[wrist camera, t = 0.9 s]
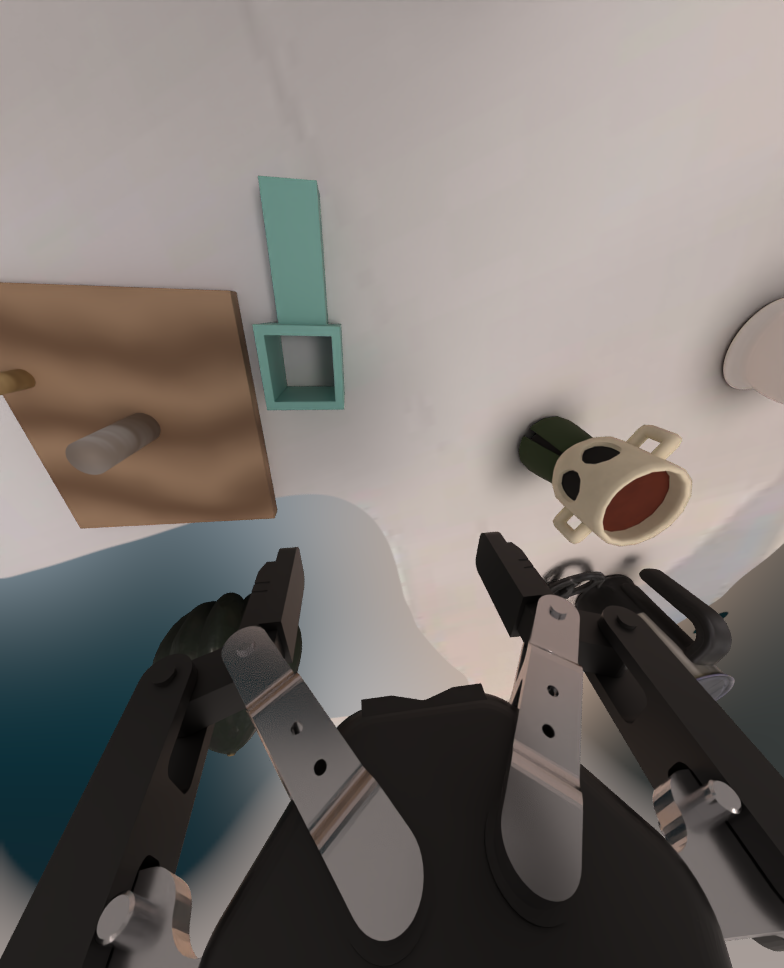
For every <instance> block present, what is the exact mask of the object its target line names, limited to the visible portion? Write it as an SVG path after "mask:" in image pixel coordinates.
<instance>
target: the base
mask: <svg viewBox="0 0 784 968" xmlns="http://www.w3.org/2000/svg"><path fill="white" fill-rule="evenodd" d="M0 395H3V396H4V398H5V400H6V401H7V403H8V405H9V407H10V408H11V410H12V412H13V413H14V415H15V417H16V419H17V420H18V422H19V424H20V425H21V427H22V429H23V431H24V432H25V434H26V436H27V437H28V439H29V441H30V443H31V444H32V446H33V448H34V449H35V451H36V453H37V455H38V456H39V458H40V460H41V461H42V463H43V465H44V467H45V468H46V470H47V472H48V473H49V475H50V477H51V479H52V480H53V482H54V484H55V485H56V487H57V489H58V491H59V492H60V494H61V496H62V497H63V499H64V501H65V503H66V504H67V506H68V508H69V509H70V511H71V513H72V515H73V516H74V518H75V520H76V521H77V523H78V525H79V527H80V528H99V527H119V526H138V525H157V524H176V523H195V522H213V521H232V520H250V519H251V520H252V519H269V518H275V516H276V513H277V506H276V500H275V495H274V490H273V484H272V479H271V474H270V468H269V463H268V458H267V453H266V447H265V442H264V437H263V431H262V426H261V421H260V415H259V410H258V405H257V399H256V394H255V389H254V383H253V378H252V373H251V368H250V362H249V357H248V352H247V346H246V341H245V336H244V330H243V325H242V320H241V314H240V309H239V304H238V299H237V293H236V292H233V291H221V290H194V289H166V288H139V287H111V286H84V285H56V284H29V283H1V282H0Z"/></svg>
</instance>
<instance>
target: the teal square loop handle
mask: <svg viewBox="0 0 784 968" xmlns="http://www.w3.org/2000/svg"><path fill="white" fill-rule="evenodd" d="M258 181H259V188H260V195H261V202H262V210H263V217H264V224H265V231H266V239H267V246H268V253H269V261H270V268H271V275H272V282H273V290H274V297H275V304H276V311H277V319H278V323H273V322H270V323H262V324H253V331H254V337H255V342H256V348H257V354H258V360H259V365H260V371H261V377H262V383H263V388H264V394H265V400H266V406H267V410H339V409H344V395H345V392H344V372H343V352H342V331H341V324H328V313H327V298H326V283H325V268H324V254H323V239H322V224H321V209H320V194H319V190H318V185H317V181H316V180H304V179H291V178H279V177H267V176H258ZM280 335H288V336H331V338H332V353H333V369H334V384H335V386H287V382H286V374H285V367H284V360H283V352H282V345H281V338H280Z"/></svg>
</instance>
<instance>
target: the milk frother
mask: <svg viewBox="0 0 784 968" xmlns="http://www.w3.org/2000/svg"><path fill="white" fill-rule="evenodd" d="M639 575H640V577H641V579H642V580H643V581H645V582H646V583H647V584H648V585H649V586H650V587H652V588H653V589H654V590H655V591H656V592H657V593H659V594H660V595H661V596H662V597H663V598H665V599H666V600H667V601H668V602H669V603H670V604H672V605H673V606H674V607H675V608H676V609H677V610H679V611H680V612H681V613H682V614H684V615H685V616H686V617H687V618H688V619H689V620H690V621H691V622H692V623H693V625H694V626H695V629H696V639H695V641H693V640H692V639H691V638H690V637H689V636H688V635H687V634H686V633H685V632H684V631H683V630H682V629H681V628H680V627H679V626H678V625H677V624H676V623H675V622H674V621H673V620H672V619H671V618H670V617H668V616H667V615H666V614H665V613H664V611H662V610H661V609H660V608H659V607H658V606H657V605H656V604H655V603H654V602H653V601H652V600H651V599H650V598H649V597H648V596H647V595H646V594H645V593H644V592H643V591H642V590H641V589H640V588H639V587H638V586H636V585H634V583H633V581H632V580H631V579H630V578H628V577H626V576H621V575H615V576H609V577H605V576H604V575H603V573H601V572H586V573H581V574H577V575H573V576H569V577H566V578H563V579H560V580H558V581H555V582H551V583H550V584H551V585H549V586H548V587H549V588H550V590H551V591H552V592H553V594H554V595H556V596H559V597H562V598H564V599H568V598H569V597H570V596H573V595H576V594H579V593H581V592H582V593H581V594H580V596H579V597H578V599H577V602H576V609H577V610H581V611H586V612H592V613H598V614H602V612H603V610H604V609H605V608H606V607H608V606H621V607H624V608H627V609H629V610H631V611H633V612H634V613H636V614H637V615H639V616H640V617H641V618H642V619H643V620H644V621H645V622H646V623H647V624H648V625H649V626H650V628H651V629H652V630H653V631H654V632H655V633H656V634H657V636H658V637H659V638H660V639H661V640H662V641H663V642H664V643H665V645H666V646H667V647H668V648H669V649H670V650H671V651H672V653H673V654H674V655H675V656H676V657H677V658H678V659H679V660H680V662H681V663H682V664H683V665H684V666H685V667H686V668H687V669H688V671H689V672H690V673H691V674H692V675H693V676H694V677H695V679H696V680H697V681H698V682H699V683H700V684H701V685H702V686H703V688H704V689H705V690H706V691H707V692H708V693H709V694H710V696H711V697H712V698H713V699H714V700H715V701H716V700H718V699H719V698H721V697H722V696H723V695H725V694H726V693H727V692H728V691H729V690H731V688H732V687H733V685H734V682H735V680H734V678H733V677H732V676H730V675H728V674H724V673H723V672H722V671H721V670H720V669H719V668H718V667H717V666H716V664H717V663H718V662H719V661H720V660H721V659H722V658H723V657H724V656H725V655H726V654H727V653H728V652H729V650H730V647H731V642H732V639H731V633H730V630H729V628H728V626H727V623H726V622H725V621H724V620H723V618H722V617H721V616H720V615H719V614H718V613H717V612H716V611H715V610H713V609H712V608H711V607H709V606H708V605H707V604H705V603H704V602H703V601H701V600H700V599H699V598H697V597H696V596H695V595H693V594H692V593H690V592H689V591H688V590H687V589H685V588H684V587H682V586H681V585H680V584H678V583H677V582H676V581H674V580H673V579H671V578H670V577H669V576H667V575H666V574H664V573H663V572H662V571H660V570H657V569H643V570H642V571H641V572H640V573H639ZM586 580H590V581H589V582H587V583H585V584H583V585H581V586H579V587H576V588H574V587H575V586H576V585H578V582H580V581H586Z"/></svg>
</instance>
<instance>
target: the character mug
mask: <svg viewBox="0 0 784 968" xmlns="http://www.w3.org/2000/svg"><path fill="white" fill-rule="evenodd" d="M530 429H531V430H533V431H534V432H535V433H537V434H536V435H534V436H533V438H532V440H530V439H529V438H527V437H525V436H524V437H523V438H522V440H521V443H520V447H519V455H520V461H521V462H522V463H523V464H524V465H525V466H526V467H527V469H528V470H530V471H531V472H533V473H535V474H536V475H538V476H540V477H541V478H543V479H545V480H547V481H549V482H551V483H552V486H553V489H554V493H555V497H556V498H557V499H558V500H559V501H560V502H561V503H562V504H563V506H565V507H564V508H563V509H562V510H561V511H560V512H559V513H558V514H557V515H556V516H555V518H554V520H553V523H554V526H555V527H556V528H557V529H558V530H559V531H560V532H561V534H562V535H563V536H564V537H565V538H566V539H567V540H568V541H569V542H571V543H573V544H577V543H579V542H581V541H583V540H584V539H585V538H586V537H587V536H588V535H589V534H590V533H591V532H592V531H593V532H594V533H595V534H596V535H597V536H598V537H600V538H601V539H602V540H603V541H605V542H606V543H608V544H612V545H616V546H627V545H635V544H638V543H641V542H643V541H646V540H648V539H650V538H653V537H655V536H656V535H658V534H659V533H660V532H662V531H663V530H665V529H666V528H668V527H669V526H670V525H671V524H672V523H673V522H674V521H675V520H676V519H677V518H678V517H679V515H680V514H681V513H682V512H683V511H684V509H685V507H686V505H687V503H688V501H689V499H690V497H691V492H692V480H691V478H690V476H689V475H688V473H687V471H686V470H685V469H683V468H681V467H680V466H678V465H675V464H673V463H671V462H669V461H667V460H666V459H667V458H668V457H669V456H670V455H671V454H672V453H673V452H674V451H675V450H676V449H677V448H678V447H679V445H680V443H681V442H682V438H681V437H680V436H679V435H678V434H676V433H673V432H670V431H667V430H665V429H662V428H659V427H656V426H654V425H643V426H641V427H640V428H639V429H638V430H637V431H636V432H635V433H634V434H633V435H632V436H631V437H630V438H629V439H628V440H627V441H626V442H625V441H623V440H620V439H617V438H614V437H596V438H592V437H591V436H590V435H589V434H587V433H586V432H585V431H584V430H582V429H581V428H580V427H578V426H577V425H575V424H574V423H573V422H571V421H569V420H567V419H564V418H561V417H558V416H556V417H550V418H544V419H542V420H541V421H539V422H537V423H536V424H534V425H532V426H531V428H530ZM648 438H650V439H652V440H655V441H657V442H660V444H659V445H658V446H657V447H656V448H655V449H654V450H653V451H652V452H651V453H649V452H647V451H645V450H642V449H640V448H639V447H640V446H641V445H642V444H643V443H644V442H645V441H646V440H647V439H648ZM573 515H575V516H576V517H577V518H578V519H579V520H581V521H582V523H581V524H580V525H579V526H578V527H577V528H576V529H575V530H574V529H572V528H571V527H570V526H569V525H568V524H567V521H568V520H569V519H570V518H571V517H572V516H573Z"/></svg>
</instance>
